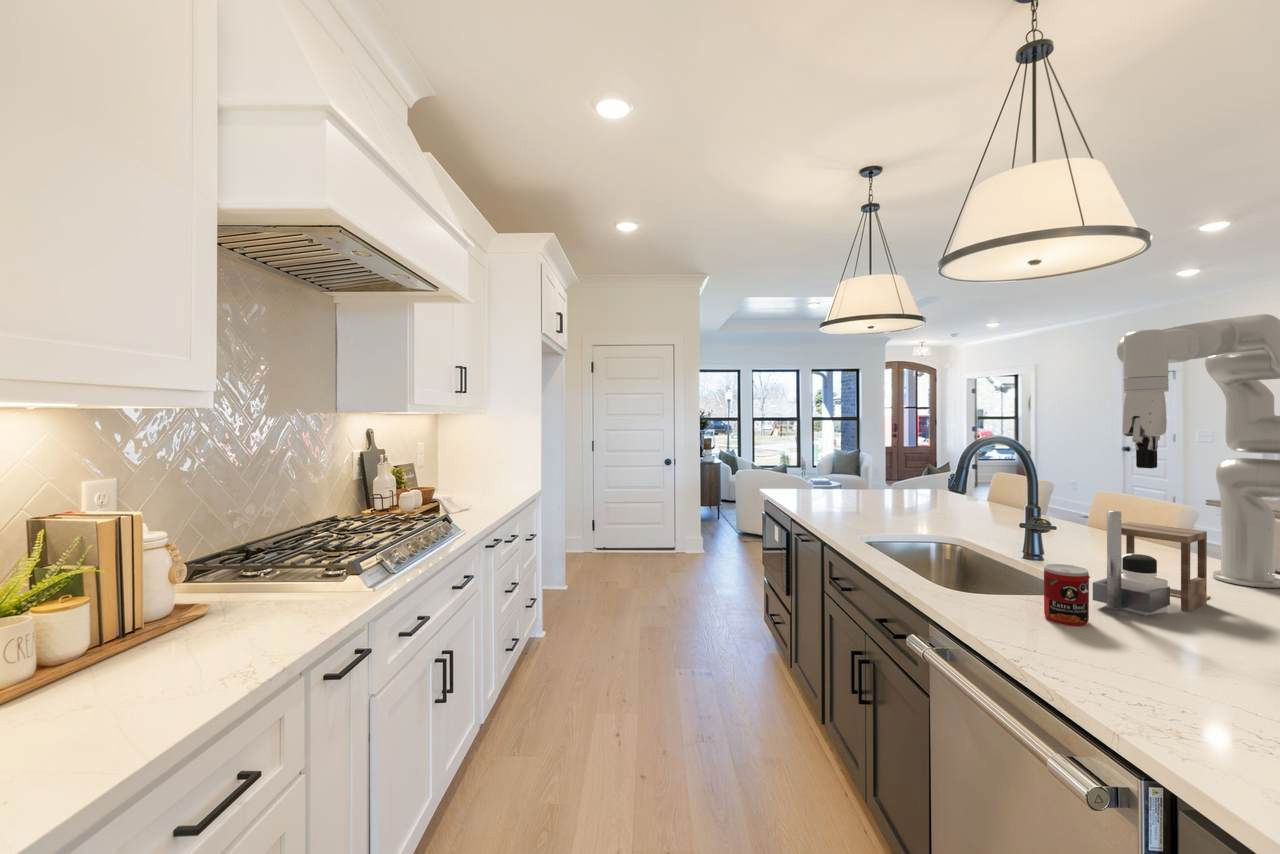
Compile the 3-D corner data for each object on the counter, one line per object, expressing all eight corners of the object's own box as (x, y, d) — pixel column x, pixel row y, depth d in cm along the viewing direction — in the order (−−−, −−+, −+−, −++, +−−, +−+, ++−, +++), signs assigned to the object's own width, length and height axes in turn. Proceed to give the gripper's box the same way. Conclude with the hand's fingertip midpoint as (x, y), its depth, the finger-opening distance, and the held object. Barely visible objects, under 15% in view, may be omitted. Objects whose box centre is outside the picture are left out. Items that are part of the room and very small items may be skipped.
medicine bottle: (1168, 612, 126) (1168, 557, 125) (1145, 616, 124) (1145, 560, 123) (1132, 602, 132) (1132, 550, 132) (1109, 605, 130) (1109, 553, 130)
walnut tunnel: (1128, 588, 143) (1128, 522, 143) (1206, 603, 131) (1206, 531, 131) (1108, 594, 138) (1108, 526, 138) (1188, 612, 126) (1188, 536, 125)
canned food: (1047, 623, 120) (1046, 570, 120) (1041, 611, 127) (1041, 562, 127) (1093, 629, 116) (1093, 575, 116) (1084, 617, 123) (1084, 565, 123)
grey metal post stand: (1113, 592, 135) (1113, 503, 134) (1169, 604, 126) (1170, 509, 126) (1083, 603, 128) (1083, 508, 127) (1141, 616, 119) (1141, 515, 119)
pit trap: (1146, 585, 146) (1146, 583, 146) (1210, 597, 135) (1210, 595, 135) (1135, 588, 143) (1135, 586, 143) (1200, 601, 132) (1200, 599, 132)
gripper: (1139, 386, 136) (1140, 464, 136) (1109, 387, 128) (1111, 469, 129) (1181, 384, 129) (1182, 466, 129) (1152, 384, 122) (1153, 471, 122)
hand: (1146, 467), depth 129 cm, fingers closed
